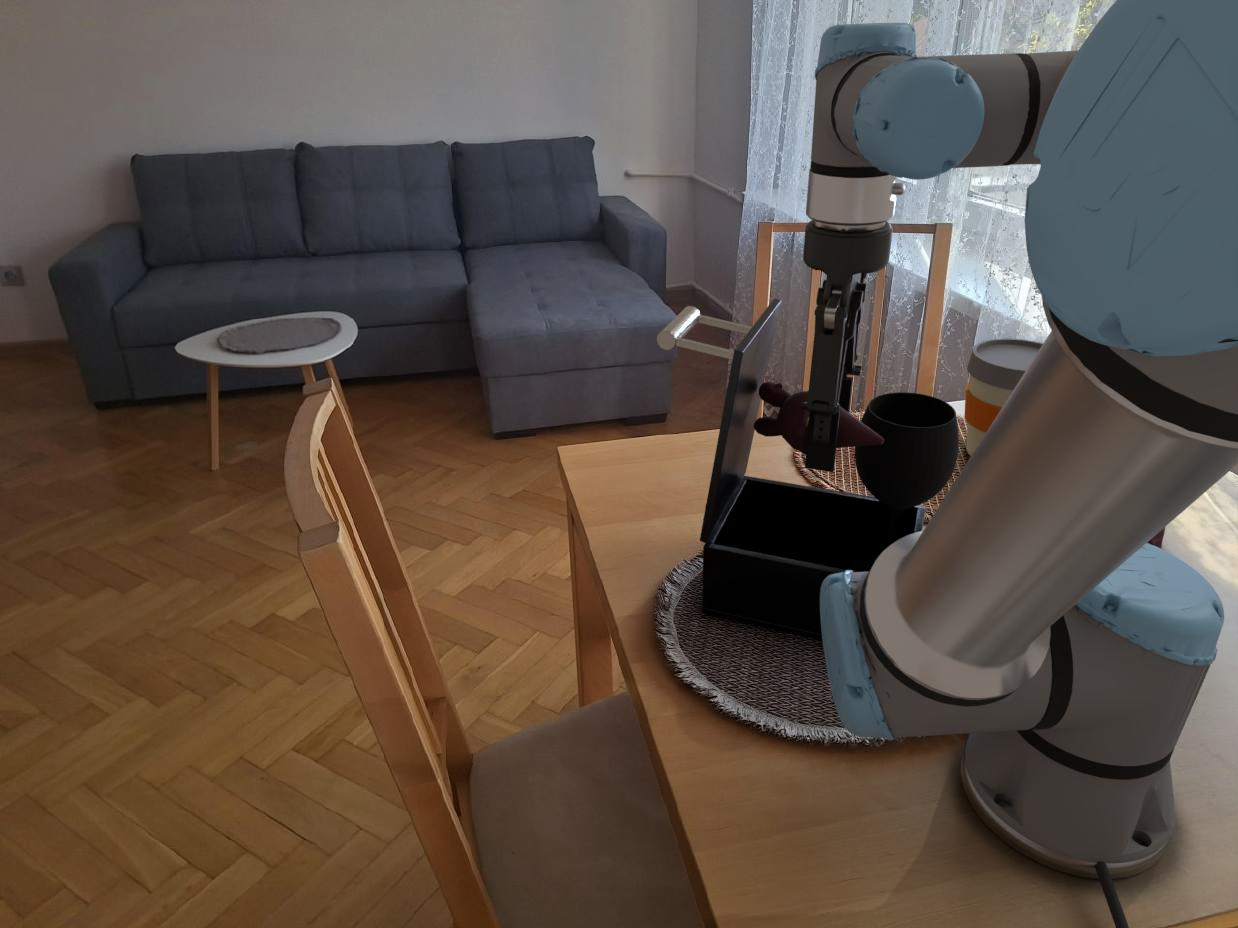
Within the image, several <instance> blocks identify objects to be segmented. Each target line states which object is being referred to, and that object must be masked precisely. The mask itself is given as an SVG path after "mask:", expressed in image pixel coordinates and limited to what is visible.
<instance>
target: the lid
mask: <svg viewBox="0 0 1238 928" xmlns="http://www.w3.org/2000/svg"><path fill="white" fill-rule="evenodd" d="M781 305H782V299H778V298H773V299H772V301H771V302H770V303H769V304H768V306H767V307H766V308H765V309H764V310H763V312H762V313H761V315H760V316H759V317H758V319H757V320H756V321H755V322H754V324H753V326H751V325H746V324H742V323H738V322H733V321H729V320H724V319H721V318H717V317H712V316H708V315H703V314H701V312H700V310H699V309H698V307H695V306H693V305H687V306H685V307H684V308H683V309H682V310H681V311H680V312H679V313H678V314H677V315H676V316H675V317H674V318H673V319H672V320H671V321H670V322H669V323H668V324H667V325H666V326H665V327H664V328H663V329H662V330H661V331H660V332H658V334H657V336H656V343H657V345H658V347H659V348H660V349H661V350H663V351H672V350H673V349H675V347H679V348H683V349H686V350H691V351H694V352H699V353H702V354H706V355H711V356H715V357H718V358H722V359H727V360H731V366H730V370H729V371H730V372H729V377H728V382H727V388H726V393H725V398H724V403H723V404H724V405H723V409H722V414H721V421H720V426H719V431H718V438H717V443H716V449H715V454H714V459H713V464H712V470H711V475H710V482H709V487H708V493H707V498H706V503H705V508H704V515H703V520H702V525H701V531H700V532H701V533H700V536H699V542H702V543H704V544H705V543H708V541H709V539H710V537H711V535H712V534H713V532H714V530H715V528H716V526H717V524H718V523H719V521H720V519H721V517H722V515H723V513H724V512H725V510H726V508H727V506H728V504H729V502H730V501H731V499H732V497H733V495H734V493H735V491H736V490H737V488H738V486H739V484H740V482H741V480H742V478H743V477H744V476H746V475H745V474H746V473H747V470H748V469H747V468H748V464H749V458H750V454H751V450H752V445H753V440H754V434H755V432H756V430H755V429H754V423H755V421H756V420H757V419H758V415H759V411H760V407H761V401H762V399H761V398H760V396H759V388H760V386H761V385H762V383H763V382H766V378H767V372H768V367H769V363H770V359H771V353H772V349H773V344H774V338H775V335H776V329H777V323H778V319H779V315H780V310H781ZM697 324H702V325H705V326H709V327H714V328H718V329H721V330H726V331H730V332H735V333H739V334H743V335H745V336H743V338H742V339H741V341H740V342H739V344H738V345H737V347H736V348H735V349H734V350H732V349H728V348H725V347H721V346H717V345H712V344H707V343H704V342H699V341H695V340H692V339H689V338H688V339H687V338H684V337H686V336H687V335H688V333H690V331H691V330H692V329H693V328H694V327H695V326H696V325H697Z"/></svg>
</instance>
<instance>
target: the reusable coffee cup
mask: <svg viewBox="0 0 1238 928" xmlns="http://www.w3.org/2000/svg"><path fill="white" fill-rule="evenodd" d="M1043 343H1044V342H1039V341H1035V340H1030V339H1022V338H1008V337H1007V338H992V339H987V340H983V341H981V342H977V343H976V344H975V345H974V346H973V348H972V351H971V353H970V357H969V359H968V364H967V368H966V369H967V372H968V374H969V376H968V382H967V384H965V394H964V395H965V396H964V397H965V398H964V419H965V421H966V442H965V443H966V446H965V447H966V448H965V449H966V453H967V454H968V455H969V456H970V457H971V456H972V454H973V452H974V451H975V449H976V448H977V446H978V445H979V443H980V441H981V440H982V438H983V437H984V435H985V434H986V432H987V431H988V429H989V427H990V426H991V424H992V423H993V421H994V420H995V418H996V417H997V415H998V413H999V412H1000V410H1001V409H1002V407H1003V406H1004V404H1005V402H1006V401H1007V399H1008V398H1009V396H1010V395H1011V393H1012V392H1013V390H1014V388H1015V387H1016V385H1017V384H1018V382H1019V381H1020V379H1021V378H1022V376H1023V374H1024V373H1025V371H1026V370H1027V368H1028V367H1029V365H1030V363H1031V362H1032V360H1033V359H1034V357H1035V356H1036V354H1037V353H1038V351H1039V349H1040V348H1041V346H1042V345H1043Z"/></svg>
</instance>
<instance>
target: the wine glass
mask: <svg viewBox="0 0 1238 928" xmlns="http://www.w3.org/2000/svg"><path fill="white" fill-rule="evenodd" d="M860 421H861V422H862V423H864V424H865V425H866V426H868V427H869V428H870V429H872V430H873V431H874V432H876V433H877V434H878V435H880V436H881V437H882V438H883V439H884V443H883V444H881V445H868V446H854V464H855V469H856V471H857V474H858V476H859V479H860V481H861V483H862V484H863V486H864V487H865V489H866V490H867V491H868V492H869V494H871V495H872V497H875V498H876V499H878V500H879V501H880V502H882V503H883V504H885V505H886V506H888V507H889V510H890V532H889V538H888V543H887V546H886V548H888V547H889V546H890V545H891V544H893V543H894V542H895V535H896V531H897V526H898V522H899V519H900V516H901V514H902V512H903V511H904V510H905V509H908V508H912V507H915V506H918V505H923V504H924V503H927V502H928V501H931V500H932V499H933V498H934V497H935V496H937V495H939V493H940V492H941V491H942V490H943V489H944V488H945V487H946V486H947V484H948V482H949V481H950V479H951V478H952V476H953V474H954V471H955V468H956V465H957V461H958V455H959V449H960V433H959V424H958V417H957V411H956V410H955V408H954V407H953V405H951V404H950V403H948V402H946V400H945V401H944V400H943V399H940V398H939V397H938V398H937V397H935V396H932V395H928V394H923V393H917V392H908V391H907V392H906V391H905V392H902V391H901V392H899V391H898V392H889V393H883V394H880V395H877V396H875V397H874V398H872V399H870V401H869V402H868V404H867V406H866V408H865V410H864V413H863V415H862V417H861V420H860ZM877 558H878V557H876V558H859V557H851V561H852V563H853V566H854V567H855V568H856V569H857V570H858V571H859V572H868V571H870V570H871V568H872V566H873V564H874V563H875V561H876V559H877Z"/></svg>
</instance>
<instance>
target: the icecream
mask: <svg viewBox="0 0 1238 928" xmlns="http://www.w3.org/2000/svg"><path fill="white" fill-rule="evenodd" d="M808 391H809V390H802V391H799V392H795V393H792V394H791V393H789V392H788V391H787V390H786V389H784V387H783V384H782V383H780V382H778V383H775V382H773V381H765V382H763V383H762V385H761V386H760V388H759V396H760V398H761V401H763V402H765V403H766V404H769V405H770V406H772V407H773V408H779V410H778V413H777V416H776V417H775V416H771V415H770V416H764V417H757V420H756V421H755V423H754V429H755V432H756V433H757V434H758V435H761V436H764V437H765V438H766V437H780V436H781V437H782V438H783V439H784V441H785V442H786V443H787V444H788V445H789V446H790V447H791V448H792V449H794V450H796V451H797V452H799V453H802V454H803V455H805V456H806V449H807V437H808V426H809V414H810V412H807V410H806V409H802V403H803V402H806V403H807V400H808ZM839 408H840V418H839V427H838V437H837V446H836V449H839V448H852V447H855V446H868V445H881V444H883V443H884V439H883V438H882V437H881V436H880V435H878V434H877V433H876V432H874V431H873V430H872V429H870V428H869V427H868V426H866V425H865V424H864V423H862V422H861V420H860V419H858V418H857V417H856V416H855V415H853V414H851V412H850V411H849V412H847V411H846V410H845V409H843V408H842V407H841V406H840V404H839Z"/></svg>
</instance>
